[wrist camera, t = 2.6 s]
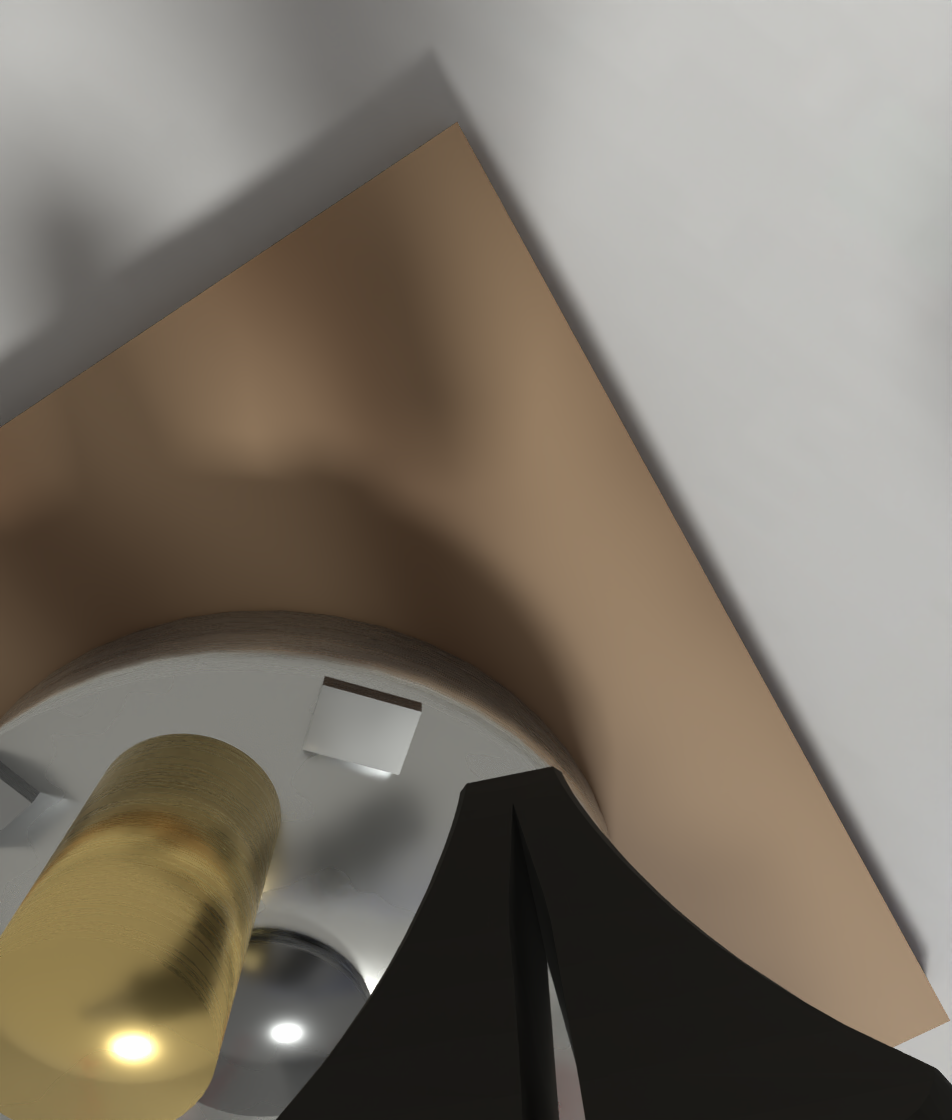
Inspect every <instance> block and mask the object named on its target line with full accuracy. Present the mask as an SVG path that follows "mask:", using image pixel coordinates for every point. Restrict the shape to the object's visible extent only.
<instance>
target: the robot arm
mask: <svg viewBox="0 0 952 1120" xmlns="http://www.w3.org/2000/svg"><path fill="white" fill-rule="evenodd" d="M547 963H548V965H547ZM548 966H549V970H550V973H551V977H552V981H553V984H554V988H555V991H556V995H557V998H558V1002H559V1006H560V1009H561V1013H562V1016H563V1020H564V1023H565V1027H566V1031H567V1034H568V1038H569V1041H570V1045H571V1048H572V1052H573V1055H574V1059H575V1063H576V1067H577V1073H578V1079H579V1084H580V1090H581V1096H582V1102H583V1108H584V1114H585V1120H952V1085H951V1083H950V1082H949V1081H948V1080H947V1079H946V1078H945V1077H944V1076H943V1074H942V1073H941V1072H940V1071H939V1070H938V1069H936V1068H934V1067H933V1066H930V1065H928V1064H926V1063H924V1062H922V1061H920V1060H918V1059H916V1058H914V1057H912V1056H909V1055H907V1054H905V1053H903V1052H901V1051H899V1050H897V1049H895V1048H893V1047H891V1046H888V1045H886V1044H884V1043H882V1042H880V1041H878V1040H876V1039H874V1038H872V1037H870V1036H867V1035H865V1034H863V1033H861V1032H859V1031H857V1030H855V1029H853V1028H851V1027H849V1026H847V1025H845V1024H843V1023H841V1022H839V1021H837V1020H836V1019H834V1018H832V1017H830V1016H829V1015H827V1014H825V1013H823V1012H822V1011H820V1010H818V1009H816V1008H815V1007H813V1006H811V1005H809V1004H808V1003H806V1002H804V1001H803V1000H801V999H800V998H798V997H797V996H795V995H794V994H792V993H791V992H789V991H787V990H786V989H784V988H783V987H781V986H780V985H778V984H777V983H775V982H774V981H772V980H771V979H769V978H768V977H766V976H765V975H763V974H762V973H760V972H758V971H757V970H755V969H754V968H752V967H751V966H749V965H748V964H746V963H745V962H743V961H742V960H740V959H739V958H738V957H736V956H735V955H734V954H732V953H731V952H730V951H728V950H727V949H726V948H725V947H723V946H722V945H721V944H719V943H718V942H717V941H715V940H714V939H713V938H711V937H710V936H709V935H707V934H706V933H705V932H704V931H703V930H701V929H700V928H699V927H698V926H697V925H695V924H694V923H693V922H692V921H690V920H689V919H688V918H687V917H686V916H684V915H683V914H682V913H681V912H680V911H679V910H678V909H676V908H675V907H674V906H673V905H672V904H671V903H670V902H669V901H668V900H667V899H665V898H664V897H663V896H662V895H661V894H660V893H659V892H658V891H657V890H656V889H655V888H654V887H653V886H652V885H651V884H650V883H649V882H648V881H647V880H646V879H645V878H644V877H643V876H642V875H641V874H640V873H639V872H638V871H637V870H636V869H635V868H634V867H633V866H632V865H631V864H630V863H629V862H628V861H627V860H626V859H625V858H624V856H623V855H622V854H621V853H620V852H619V851H618V850H617V848H616V847H615V846H614V845H613V844H612V843H611V842H610V840H609V839H608V838H607V837H606V836H605V835H604V833H603V832H602V831H601V830H600V829H599V828H598V826H597V825H596V824H595V823H594V821H593V820H592V819H591V817H590V816H589V815H588V813H587V812H586V811H585V809H584V808H583V807H582V805H581V804H580V802H579V801H578V800H577V798H576V797H575V795H574V794H573V792H572V790H571V789H570V787H569V785H568V784H567V782H566V780H565V778H564V776H563V774H562V772H561V771H560V770H558V769H556V768H555V767H553V766H551V767H546V768H541V769H536V770H531V771H526V772H521V773H516V774H511V775H506V776H501V777H496V778H491V779H486V780H481V781H476V782H471V783H467V784H466V785H465V786H464V788H463V789H462V790H461V792H460V796H459V801H458V805H457V808H456V812H455V816H454V819H453V822H452V826H451V829H450V832H449V834H448V837H447V840H446V843H445V846H444V849H443V851H442V854H441V856H440V859H439V861H438V864H437V866H436V869H435V871H434V874H433V876H432V879H431V881H430V884H429V886H428V888H427V891H426V893H425V895H424V897H423V899H422V901H421V903H420V905H419V907H418V910H417V912H416V914H415V916H414V918H413V920H412V922H411V924H410V926H409V928H408V930H407V932H406V934H405V936H404V938H403V940H402V942H401V944H400V946H399V947H398V949H397V951H396V953H395V955H394V957H393V958H392V960H391V962H390V964H389V965H388V967H387V969H386V970H385V972H384V974H383V975H382V977H381V979H380V980H379V982H378V984H377V985H376V987H375V988H374V990H373V992H372V993H371V995H370V997H369V998H368V1000H367V1001H366V1003H365V1004H364V1006H363V1007H362V1009H361V1010H360V1011H359V1013H358V1014H357V1016H356V1017H355V1019H354V1020H353V1022H352V1023H351V1025H350V1026H349V1027H348V1029H347V1030H346V1032H345V1033H344V1035H343V1036H342V1038H341V1039H340V1041H339V1042H338V1043H337V1045H336V1046H335V1047H334V1049H333V1050H332V1051H331V1053H330V1054H329V1055H328V1057H327V1058H326V1059H325V1061H324V1062H323V1063H322V1065H321V1066H320V1067H319V1068H318V1070H317V1071H316V1072H315V1073H314V1075H313V1076H312V1077H311V1078H310V1079H309V1080H308V1082H307V1083H306V1084H305V1085H304V1086H303V1088H302V1089H301V1090H300V1091H299V1092H298V1094H297V1095H296V1096H295V1097H294V1098H293V1100H292V1101H291V1102H290V1103H289V1104H288V1106H287V1107H286V1108H285V1109H284V1110H283V1112H282V1113H281V1114H280V1115H279V1116H278V1118H277V1119H276V1120H559V1109H558V1096H557V1082H556V1069H555V1056H554V1043H553V1030H552V1016H551V1003H550V991H549V978H548Z"/></svg>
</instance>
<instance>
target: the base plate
mask: <svg viewBox="0 0 952 1120" xmlns="http://www.w3.org/2000/svg"><path fill="white" fill-rule="evenodd" d="M276 610H286V611H295V612H305V613H315V614H324V615H334V616H339V617H343V618H347V619H352V620H356V621H361V622H365V623H370V624H374V625H379V626H383V627H386V628H388V629H391V630H394V631H397V632H400V633H402V634H405V635H408V636H411V637H414V638H417V639H419V640H422V641H425V642H428V643H430V644H432V645H434V646H436V647H438V648H440V649H442V650H444V651H446V652H448V653H450V654H452V655H454V656H456V657H458V658H460V659H462V660H464V661H466V662H468V663H470V664H471V665H473V666H474V667H476V668H477V669H479V670H480V671H482V672H483V673H485V674H486V675H488V676H489V677H491V678H492V679H494V680H495V681H497V682H498V683H500V684H501V685H502V686H504V687H505V688H507V689H508V690H509V691H511V692H512V693H513V694H514V695H515V696H516V697H517V698H518V699H520V700H521V701H522V702H523V703H524V704H525V705H526V706H527V707H529V708H530V709H531V710H532V711H533V712H534V713H535V714H536V715H538V716H539V717H540V718H541V719H542V720H543V722H544V723H545V724H546V725H547V726H548V727H549V729H550V730H551V731H552V732H553V733H554V734H555V736H556V737H557V738H558V739H559V740H560V742H561V743H562V744H563V745H564V746H565V747H566V749H567V750H568V751H569V753H570V755H571V756H572V758H573V759H574V761H575V762H576V764H577V766H578V767H579V769H580V770H581V772H582V774H583V775H584V777H585V778H586V780H587V782H588V783H589V785H590V788H591V790H592V792H593V795H594V797H595V799H596V802H597V804H598V806H599V809H600V811H601V813H602V815H603V818H604V821H605V824H606V827H607V831H608V834H609V837H610V840H611V843H612V844H613V845H614V846H615V847H616V848H617V850H618V851H619V852H620V853H621V854H622V855H623V856H624V858H625V859H626V860H627V861H628V862H629V863H630V864H631V865H632V866H633V867H634V868H635V869H636V870H637V871H638V872H639V873H640V874H641V875H642V876H643V877H644V878H645V879H646V880H647V881H648V882H649V883H650V884H651V885H652V886H653V887H654V888H655V889H656V890H657V891H658V892H659V893H660V894H661V895H662V896H663V897H664V898H665V899H667V900H668V901H669V902H670V903H671V904H672V905H673V906H674V907H675V908H676V909H678V910H679V911H680V912H681V913H682V914H683V915H684V916H686V917H687V918H688V919H689V920H690V921H692V922H693V923H694V924H695V925H697V926H698V927H699V928H700V929H701V930H703V931H704V932H705V933H706V934H707V935H709V936H710V937H711V938H713V939H714V940H715V941H717V942H718V943H719V944H721V945H722V946H723V947H725V948H726V949H727V950H728V951H730V952H731V953H732V954H734V955H735V956H736V957H738V958H739V959H740V960H742V961H743V962H745V963H746V964H748V965H749V966H751V967H752V968H754V969H755V970H757V971H758V972H760V973H762V974H763V975H765V976H766V977H768V978H769V979H771V980H772V981H774V982H775V983H777V984H778V985H780V986H781V987H783V988H784V989H786V990H787V991H789V992H791V993H792V994H794V995H795V996H797V997H798V998H800V999H801V1000H803V1001H804V1002H806V1003H808V1004H809V1005H811V1006H813V1007H815V1008H816V1009H818V1010H820V1011H822V1012H823V1013H825V1014H827V1015H829V1016H830V1017H832V1018H834V1019H836V1020H837V1021H839V1022H841V1023H843V1024H845V1025H847V1026H849V1027H851V1028H853V1029H855V1030H857V1031H859V1032H861V1033H863V1034H865V1035H867V1036H870V1037H872V1038H874V1039H876V1040H878V1041H880V1042H882V1043H884V1044H886V1045H888V1046H891V1047H895V1046H897V1045H899V1044H901V1043H903V1042H905V1041H907V1040H910V1039H912V1038H914V1037H916V1036H918V1035H920V1034H922V1033H925V1032H927V1031H929V1030H931V1029H933V1028H935V1027H937V1026H940V1025H942V1024H944V1023H946V1022H948V1021H950V1019H949V1018H948V1016H947V1014H946V1012H945V1010H944V1009H943V1007H942V1005H941V1003H940V1001H939V999H938V998H937V996H936V994H935V992H934V990H933V988H932V987H931V985H930V983H929V981H928V979H927V978H926V976H925V974H924V972H923V970H922V968H921V967H920V965H919V963H918V961H917V959H916V957H915V956H914V954H913V952H912V950H911V948H910V947H909V945H908V943H907V941H906V939H905V937H904V936H903V934H902V932H901V930H900V928H899V927H898V925H897V923H896V921H895V919H894V917H893V916H892V914H891V912H890V910H889V908H888V906H887V905H886V903H885V901H884V899H883V897H882V896H881V894H880V892H879V890H878V888H877V886H876V885H875V883H874V881H873V879H872V877H871V875H870V874H869V872H868V870H867V868H866V866H865V865H864V863H863V861H862V859H861V857H860V855H859V854H858V852H857V850H856V848H855V846H854V844H853V843H852V841H851V839H850V837H849V835H848V834H847V832H846V830H845V828H844V826H843V824H842V823H841V821H840V819H839V817H838V815H837V813H836V812H835V810H834V808H833V806H832V804H831V803H830V801H829V799H828V797H827V795H826V793H825V792H824V790H823V788H822V786H821V784H820V782H819V781H818V779H817V777H816V775H815V773H814V772H813V770H812V768H811V766H810V764H809V762H808V761H807V759H806V757H805V755H804V753H803V751H802V750H801V748H800V746H799V744H798V742H797V741H796V739H795V737H794V735H793V733H792V731H791V730H790V728H789V726H788V724H787V722H786V720H785V719H784V717H783V715H782V713H781V711H780V710H779V708H778V706H777V704H776V702H775V700H774V699H773V697H772V695H771V693H770V691H769V689H768V688H767V686H766V684H765V682H764V680H763V679H762V677H761V675H760V673H759V671H758V669H757V668H756V666H755V664H754V662H753V660H752V658H751V657H750V655H749V653H748V651H747V649H746V648H745V646H744V644H743V642H742V640H741V638H740V637H739V635H738V633H737V631H736V629H735V627H734V626H733V624H732V622H731V620H730V618H729V617H728V615H727V613H726V611H725V609H724V607H723V606H722V604H721V602H720V600H719V598H718V596H717V595H716V593H715V591H714V589H713V587H712V586H711V584H710V582H709V580H708V578H707V576H706V575H705V573H704V571H703V569H702V567H701V565H700V564H699V562H698V560H697V558H696V556H695V555H694V553H693V551H692V549H691V547H690V545H689V544H688V542H687V540H686V538H685V536H684V534H683V533H682V531H681V529H680V527H679V525H678V524H677V522H676V520H675V518H674V516H673V514H672V513H671V511H670V509H669V507H668V505H667V503H666V502H665V500H664V498H663V496H662V494H661V493H660V491H659V489H658V487H657V485H656V483H655V482H654V480H653V478H652V476H651V474H650V472H649V471H648V469H647V467H646V465H645V463H644V462H643V460H642V458H641V456H640V454H639V452H638V451H637V449H636V447H635V445H634V443H633V441H632V440H631V438H630V436H629V434H628V432H627V431H626V429H625V427H624V425H623V423H622V421H621V420H620V418H619V416H618V414H617V412H616V410H615V409H614V407H613V405H612V403H611V401H610V400H609V398H608V396H607V394H606V392H605V390H604V389H603V387H602V385H601V383H600V381H599V379H598V378H597V376H596V374H595V372H594V370H593V369H592V367H591V365H590V363H589V361H588V359H587V358H586V356H585V354H584V352H583V350H582V348H581V347H580V345H579V343H578V341H577V339H576V338H575V336H574V334H573V332H572V330H571V328H570V327H569V325H568V323H567V321H566V319H565V317H564V316H563V314H562V312H561V310H560V308H559V307H558V305H557V303H556V301H555V299H554V297H553V296H552V294H551V292H550V290H549V288H548V286H547V285H546V283H545V281H544V279H543V277H542V276H541V274H540V272H539V270H538V268H537V266H536V265H535V263H534V261H533V259H532V257H531V255H530V254H529V252H528V250H527V248H526V246H525V245H524V243H523V241H522V239H521V237H520V235H519V234H518V232H517V230H516V228H515V226H514V224H513V223H512V221H511V219H510V217H509V215H508V214H507V212H506V210H505V208H504V206H503V204H502V203H501V201H500V199H499V197H498V195H497V193H496V192H495V190H494V188H493V186H492V184H491V183H490V181H489V179H488V177H487V175H486V173H485V172H484V170H483V168H482V166H481V164H480V163H479V161H478V159H477V157H476V155H475V153H474V152H473V150H472V148H471V146H470V144H469V142H468V141H467V139H466V137H465V135H464V133H463V132H462V130H461V128H460V126H459V124H458V122H456V123H455V124H453V125H452V126H450V127H449V128H447V129H446V130H444V131H443V132H441V133H440V134H438V135H437V136H435V137H434V138H432V139H431V140H429V141H428V142H426V143H425V144H423V145H422V146H420V147H419V148H417V149H416V150H414V151H413V152H411V153H410V154H408V155H407V156H405V157H404V158H402V159H401V160H400V161H398V162H397V163H395V164H394V165H392V166H391V167H389V168H388V169H386V170H385V171H383V172H382V173H380V174H379V175H377V176H376V177H374V178H373V179H371V180H370V181H368V182H367V183H365V184H364V185H362V186H361V187H359V188H358V189H356V190H355V191H353V192H352V193H350V194H349V195H347V196H346V197H344V198H343V199H341V200H340V201H338V202H337V203H335V204H334V205H332V206H331V207H329V208H328V209H326V210H325V211H323V212H322V213H320V214H319V215H317V216H316V217H314V218H313V219H311V220H310V221H308V222H307V223H305V224H304V225H302V226H301V227H299V228H298V229H296V230H295V231H293V232H292V233H290V234H289V235H287V236H286V237H284V238H283V239H281V240H280V241H278V242H277V243H275V244H274V245H272V246H271V247H269V248H268V249H266V250H265V251H263V252H262V253H260V254H259V255H257V256H256V257H254V258H253V259H251V260H250V261H248V262H247V263H245V264H244V265H242V266H241V267H240V268H238V269H237V270H235V271H234V272H232V273H231V274H229V275H228V276H226V277H225V278H223V279H222V280H220V281H219V282H217V283H216V284H214V285H213V286H211V287H210V288H208V289H207V290H205V291H204V292H202V293H201V294H199V295H198V296H196V297H195V298H193V299H192V300H190V301H189V302H187V303H186V304H184V305H183V306H181V307H180V308H178V309H177V310H175V311H174V312H172V313H171V314H169V315H168V316H166V317H165V318H163V319H162V320H160V321H159V322H157V323H156V324H154V325H153V326H151V327H150V328H148V329H147V330H145V331H144V332H142V333H141V334H139V335H138V336H136V337H135V338H133V339H132V340H130V341H129V342H127V343H126V344H124V345H123V346H121V347H120V348H118V349H117V350H115V351H114V352H112V353H111V354H109V355H108V356H106V357H105V358H103V359H102V360H100V361H99V362H97V363H96V364H94V365H93V366H91V367H90V368H88V369H87V370H85V371H84V372H82V373H81V374H79V375H78V376H77V377H75V378H74V379H72V380H71V381H69V382H68V383H66V384H65V385H63V386H62V387H60V388H59V389H57V390H56V391H54V392H53V393H51V394H50V395H48V396H47V397H45V398H44V399H42V400H41V401H39V402H38V403H36V404H35V405H33V406H32V407H30V408H29V409H27V410H26V411H24V412H23V413H21V414H20V415H18V416H17V417H15V418H14V419H12V420H11V421H9V422H8V423H6V424H5V425H3V426H2V427H0V719H1V718H2V717H3V716H4V715H5V713H6V712H7V711H8V710H9V709H10V708H11V707H12V706H13V705H14V704H15V703H16V702H17V701H18V700H19V699H20V698H21V697H23V696H24V695H25V694H26V693H28V692H29V691H30V690H31V689H33V688H34V687H35V686H36V685H38V684H39V683H40V682H41V681H43V680H44V679H45V678H47V677H48V676H49V675H50V674H52V673H53V672H54V671H56V670H58V669H60V668H61V667H63V666H65V665H66V664H68V663H70V662H72V661H73V660H75V659H77V658H78V657H80V656H82V655H84V654H85V653H87V652H89V651H90V650H92V649H94V648H97V647H99V646H102V645H104V644H106V643H109V642H111V641H114V640H116V639H118V638H121V637H123V636H126V635H128V634H131V633H133V632H135V631H138V630H142V629H146V628H149V627H153V626H157V625H161V624H164V623H168V622H172V621H175V620H179V619H183V618H189V617H196V616H203V615H210V614H217V613H225V612H232V611H276Z"/></svg>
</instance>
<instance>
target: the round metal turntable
mask: <svg viewBox="0 0 952 1120" xmlns="http://www.w3.org/2000/svg"><path fill="white" fill-rule="evenodd" d="M551 766H553V767H555V768H556V769H558V770H560V771H561V772H562V774H563V776H564V778H565V780H566V782H567V784H568V785H569V787H570V789H571V790H572V792H573V794H574V795H575V797H576V798H577V800H578V801H579V802H580V804H581V805H582V807H583V808H584V809H585V811H586V812H587V813H588V815H589V816H590V817H591V819H592V820H593V821H594V823H595V824H596V825H597V826H598V828H599V829H600V830H601V831H602V832H603V833H604V835H605V836H606V837H607V838H608V839H609V840H610V837H609V834H608V831H607V827H606V824H605V821H604V818H603V815H602V813H601V811H600V809H599V806H598V804H597V802H596V799H595V797H594V795H593V792H592V790H591V788H590V785H589V783H588V782H587V780H586V778H585V777H584V775H583V774H582V772H581V770H580V769H579V767H578V766H577V764H576V762H575V761H574V759H573V758H572V756H571V755H570V753H569V751H568V750H567V749H566V747H565V746H564V745H563V744H562V743H561V742H560V740H559V739H558V738H557V737H556V736H555V734H554V733H553V732H552V731H551V730H550V729H549V727H548V726H547V725H546V724H545V723H544V722H543V720H542V719H541V718H540V717H539V716H538V715H536V714H535V713H534V712H533V711H532V710H531V709H530V708H529V707H527V706H526V705H525V704H524V703H523V702H522V701H521V700H520V699H518V698H517V697H516V696H515V695H514V694H513V693H512V692H511V691H509V690H508V689H507V688H505V687H504V686H502V685H501V684H500V683H498V682H497V681H495V680H494V679H492V678H491V677H489V676H488V675H486V674H485V673H483V672H482V671H480V670H479V669H477V668H476V667H474V666H473V665H471V664H470V663H468V662H466V661H464V660H462V659H460V658H458V657H456V656H454V655H452V654H450V653H448V652H446V651H444V650H442V649H440V648H438V647H436V646H434V645H432V644H430V643H428V642H425V641H422V640H419V639H417V638H414V637H411V636H408V635H405V634H402V633H400V632H397V631H394V630H391V629H388V628H386V627H383V626H379V625H374V624H370V623H365V622H361V621H356V620H352V619H347V618H343V617H339V616H334V615H324V614H315V613H305V612H295V611H286V610H276V611H232V612H225V613H217V614H210V615H203V616H196V617H189V618H183V619H179V620H175V621H172V622H168V623H164V624H161V625H157V626H153V627H149V628H146V629H142V630H138V631H135V632H133V633H131V634H128V635H126V636H123V637H121V638H118V639H116V640H114V641H111V642H109V643H106V644H104V645H102V646H99V647H97V648H94V649H92V650H90V651H89V652H87V653H85V654H84V655H82V656H80V657H78V658H77V659H75V660H73V661H72V662H70V663H68V664H66V665H65V666H63V667H61V668H60V669H58V670H56V671H54V672H53V673H52V674H50V675H49V676H48V677H47V678H45V679H44V680H43V681H41V682H40V683H39V684H38V685H36V686H35V687H34V688H33V689H31V690H30V691H29V692H28V693H26V694H25V695H24V696H23V697H21V698H20V699H19V700H18V701H17V702H16V703H15V704H14V705H13V706H12V707H11V708H10V709H9V710H8V711H7V712H6V713H5V715H4V716H3V717H2V718H1V719H0V1120H276V1119H277V1118H278V1116H279V1115H280V1114H281V1113H282V1112H283V1110H284V1109H285V1108H286V1107H287V1106H288V1104H289V1103H290V1102H291V1101H292V1100H293V1098H294V1097H295V1096H296V1095H297V1094H298V1092H299V1091H300V1090H301V1089H302V1088H303V1086H304V1085H305V1084H306V1083H307V1082H308V1080H309V1079H310V1078H311V1077H312V1076H313V1075H314V1073H315V1072H316V1071H317V1070H318V1068H319V1067H320V1066H321V1065H322V1063H323V1062H324V1061H325V1059H326V1058H327V1057H328V1055H329V1054H330V1053H331V1051H332V1050H333V1049H334V1047H335V1046H336V1045H337V1043H338V1042H339V1041H340V1039H341V1038H342V1036H343V1035H344V1033H345V1032H346V1030H347V1029H348V1027H349V1026H350V1025H351V1023H352V1022H353V1020H354V1019H355V1017H356V1016H357V1014H358V1013H359V1011H360V1010H361V1009H362V1007H363V1006H364V1004H365V1003H366V1001H367V1000H368V998H369V997H370V995H371V993H372V992H373V990H374V988H375V987H376V985H377V984H378V982H379V980H380V979H381V977H382V975H383V974H384V972H385V970H386V969H387V967H388V965H389V964H390V962H391V960H392V958H393V957H394V955H395V953H396V951H397V949H398V947H399V946H400V944H401V942H402V940H403V938H404V936H405V934H406V932H407V930H408V928H409V926H410V924H411V922H412V920H413V918H414V916H415V914H416V912H417V910H418V907H419V905H420V903H421V901H422V899H423V897H424V895H425V893H426V891H427V888H428V886H429V884H430V881H431V879H432V876H433V874H434V871H435V869H436V866H437V864H438V861H439V859H440V856H441V854H442V851H443V849H444V846H445V843H446V840H447V837H448V834H449V832H450V829H451V826H452V822H453V819H454V816H455V812H456V808H457V805H458V801H459V796H460V792H461V790H462V789H463V788H464V786H465V785H466V784H467V783H471V782H476V781H481V780H486V779H491V778H496V777H501V776H506V775H511V774H516V773H521V772H526V771H531V770H536V769H541V768H546V767H551ZM610 842H611V840H610ZM547 965H548V963H547ZM548 978H549V991H550V1003H551V1016H552V1030H553V1043H554V1056H555V1069H556V1082H557V1096H558V1109H559V1120H585V1114H584V1108H583V1102H582V1096H581V1090H580V1084H579V1079H578V1073H577V1067H576V1063H575V1059H574V1055H573V1052H572V1048H571V1045H570V1041H569V1038H568V1034H567V1031H566V1027H565V1023H564V1020H563V1016H562V1013H561V1009H560V1006H559V1002H558V998H557V995H556V991H555V988H554V984H553V981H552V977H551V973H550V970H549V966H548Z"/></svg>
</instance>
